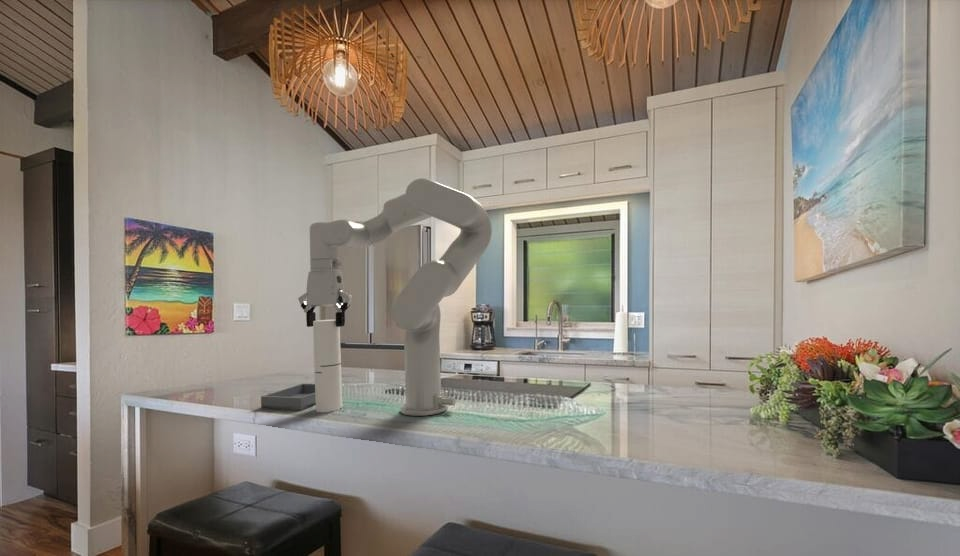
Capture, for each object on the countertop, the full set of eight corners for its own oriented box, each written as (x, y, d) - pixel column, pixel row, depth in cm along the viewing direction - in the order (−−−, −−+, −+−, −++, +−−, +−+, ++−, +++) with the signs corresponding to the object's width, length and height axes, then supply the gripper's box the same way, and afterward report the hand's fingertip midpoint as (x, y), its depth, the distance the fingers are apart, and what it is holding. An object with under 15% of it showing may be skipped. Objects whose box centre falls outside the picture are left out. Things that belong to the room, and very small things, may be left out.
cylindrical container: (337, 411, 126) (334, 320, 126) (311, 412, 126) (309, 321, 126) (345, 405, 133) (342, 319, 133) (321, 406, 133) (318, 320, 134)
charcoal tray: (339, 395, 146) (339, 384, 146) (301, 410, 129) (301, 398, 129) (302, 394, 150) (302, 383, 150) (261, 408, 133) (260, 396, 133)
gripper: (358, 265, 131) (359, 325, 131) (307, 267, 137) (308, 325, 136) (342, 264, 124) (344, 327, 124) (290, 267, 129) (291, 327, 129)
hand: (325, 326), depth 130 cm, fingers open, 9 cm apart
